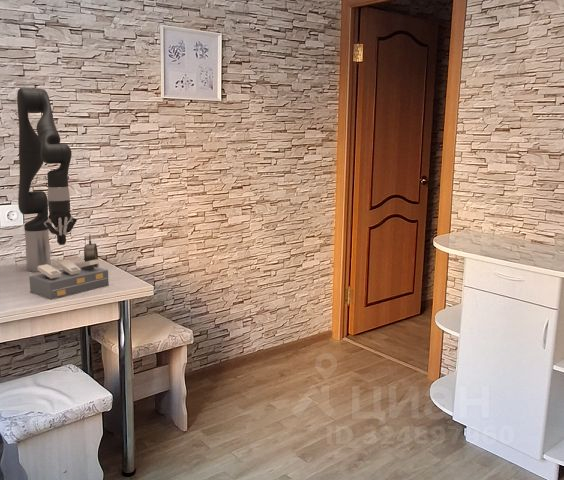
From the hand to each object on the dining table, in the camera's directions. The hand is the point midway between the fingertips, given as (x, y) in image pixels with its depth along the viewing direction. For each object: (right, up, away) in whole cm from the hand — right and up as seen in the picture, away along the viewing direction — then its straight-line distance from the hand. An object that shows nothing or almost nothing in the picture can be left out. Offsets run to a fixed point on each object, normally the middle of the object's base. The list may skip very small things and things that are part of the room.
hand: (61, 244), depth 219 cm
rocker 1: (-2, -10, -7) cm, 12 cm away
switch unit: (+3, -17, +1) cm, 17 cm away
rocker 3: (+8, -7, +6) cm, 12 cm away
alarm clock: (+3, -12, +26) cm, 29 cm away
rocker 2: (+3, -8, -1) cm, 9 cm away
